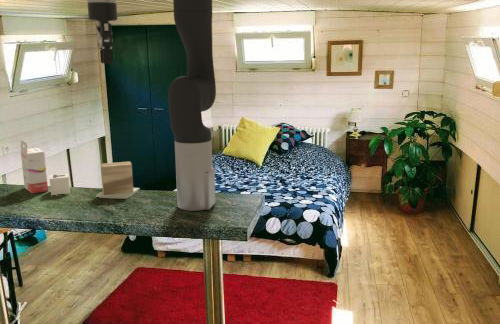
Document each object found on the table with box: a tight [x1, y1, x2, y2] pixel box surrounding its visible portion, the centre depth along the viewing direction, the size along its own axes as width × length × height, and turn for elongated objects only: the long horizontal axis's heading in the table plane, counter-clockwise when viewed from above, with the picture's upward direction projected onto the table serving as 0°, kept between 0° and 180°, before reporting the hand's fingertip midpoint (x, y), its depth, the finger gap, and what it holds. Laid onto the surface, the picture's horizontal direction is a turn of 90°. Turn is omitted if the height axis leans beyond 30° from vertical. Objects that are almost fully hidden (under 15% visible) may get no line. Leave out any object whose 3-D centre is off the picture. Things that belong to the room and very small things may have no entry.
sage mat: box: [95, 187, 141, 200], centre depth 138 cm, size 9×9×1 cm
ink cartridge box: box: [20, 139, 49, 194], centre depth 142 cm, size 9×5×15 cm, turn 37°
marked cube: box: [49, 173, 71, 197], centre depth 139 cm, size 5×5×5 cm
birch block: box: [100, 160, 134, 195], centre depth 137 cm, size 4×8×8 cm, turn 111°
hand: (106, 63), depth 135 cm, fingers open, 8 cm apart
